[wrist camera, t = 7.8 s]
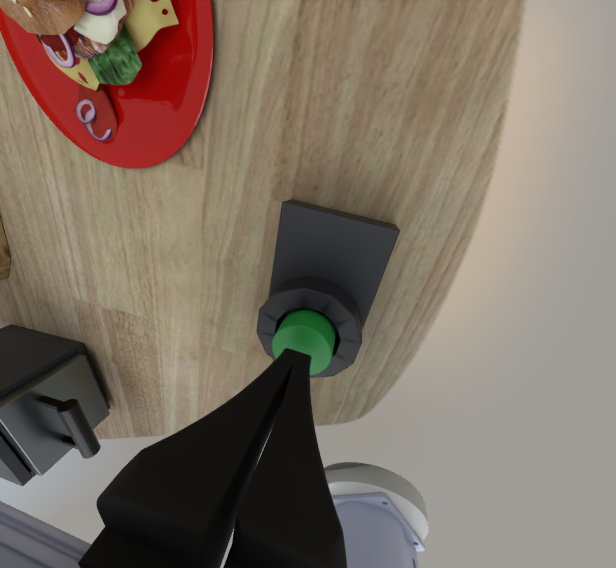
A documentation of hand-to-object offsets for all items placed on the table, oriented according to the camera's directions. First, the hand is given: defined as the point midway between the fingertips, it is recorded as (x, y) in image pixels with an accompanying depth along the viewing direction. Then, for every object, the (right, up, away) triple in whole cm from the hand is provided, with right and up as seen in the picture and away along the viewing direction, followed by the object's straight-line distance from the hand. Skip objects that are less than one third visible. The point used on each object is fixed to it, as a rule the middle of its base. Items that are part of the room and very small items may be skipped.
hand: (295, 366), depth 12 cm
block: (+2, +4, +4) cm, 6 cm away
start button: (+1, +1, +3) cm, 3 cm away
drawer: (-26, -7, +15) cm, 31 cm away
